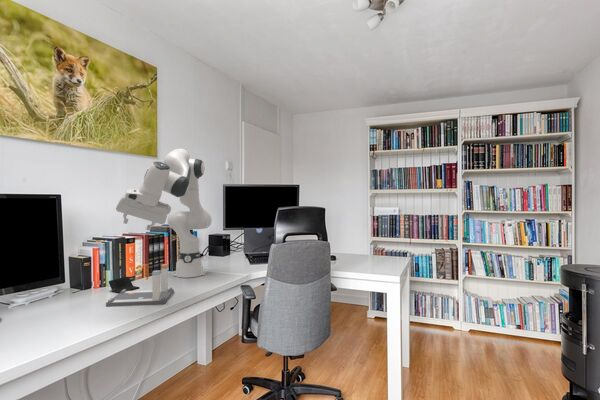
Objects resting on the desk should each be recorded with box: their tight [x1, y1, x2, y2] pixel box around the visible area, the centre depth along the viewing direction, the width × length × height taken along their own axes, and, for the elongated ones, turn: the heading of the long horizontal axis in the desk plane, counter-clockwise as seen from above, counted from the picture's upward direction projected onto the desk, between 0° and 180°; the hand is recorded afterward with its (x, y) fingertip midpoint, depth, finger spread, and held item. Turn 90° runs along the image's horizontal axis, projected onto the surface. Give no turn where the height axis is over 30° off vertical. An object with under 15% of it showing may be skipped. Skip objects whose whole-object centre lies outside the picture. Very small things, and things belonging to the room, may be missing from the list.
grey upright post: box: [160, 263, 169, 291], centre depth 157 cm, size 3×3×13 cm
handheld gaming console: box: [108, 276, 140, 295], centre depth 163 cm, size 12×7×10 cm
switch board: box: [105, 287, 175, 308], centre depth 148 cm, size 18×24×2 cm
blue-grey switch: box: [151, 269, 161, 300], centre depth 143 cm, size 3×3×13 cm
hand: (136, 226), depth 140 cm, fingers open, 8 cm apart
